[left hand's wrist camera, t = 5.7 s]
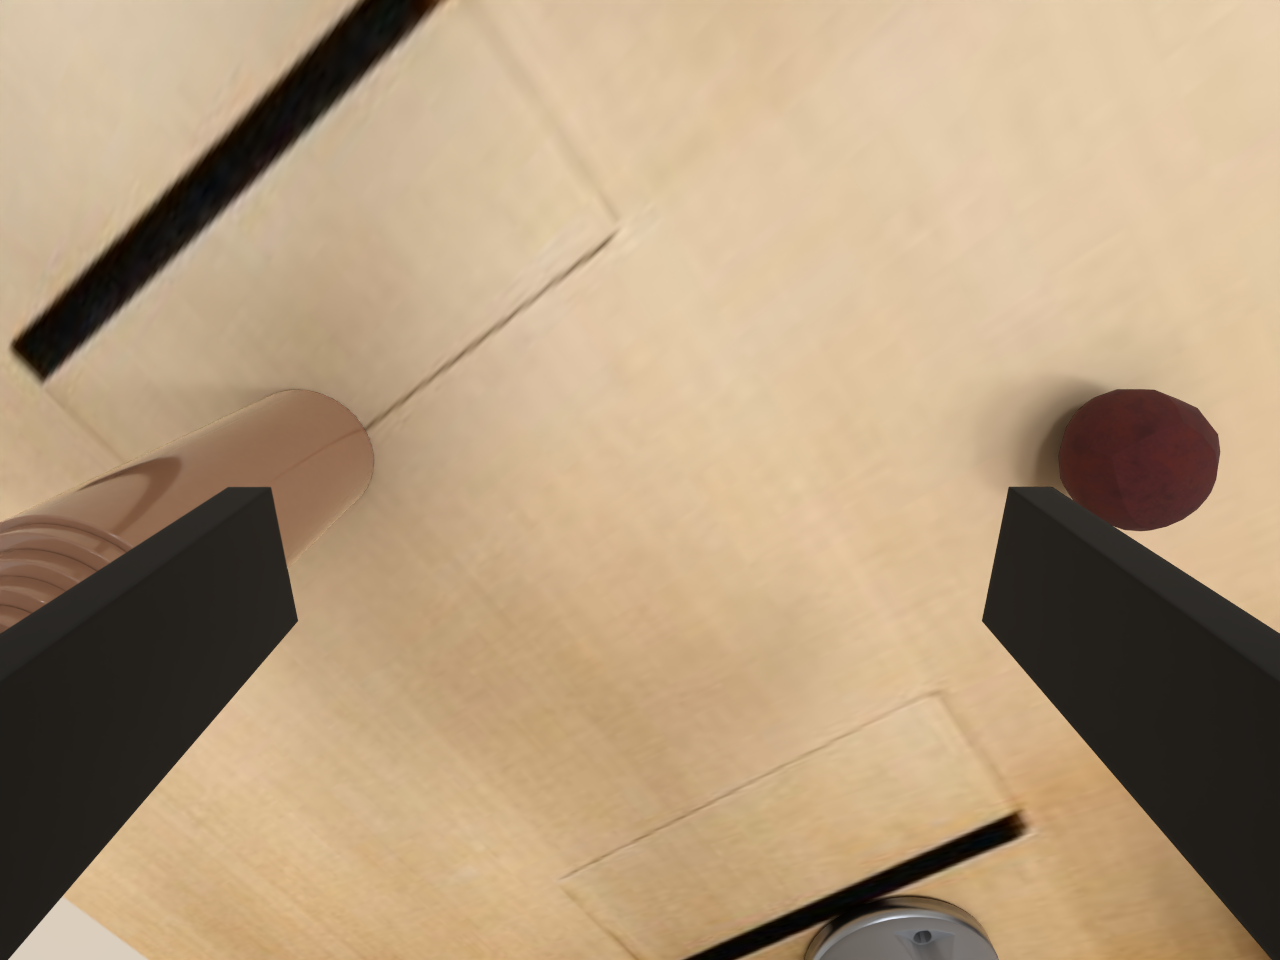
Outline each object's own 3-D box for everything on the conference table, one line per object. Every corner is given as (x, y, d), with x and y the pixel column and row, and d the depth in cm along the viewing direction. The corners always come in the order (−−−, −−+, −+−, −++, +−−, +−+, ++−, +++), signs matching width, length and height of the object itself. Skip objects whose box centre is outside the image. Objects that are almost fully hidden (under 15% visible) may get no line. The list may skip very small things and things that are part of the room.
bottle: (215, 451, 41) (-323, 742, 18) (294, 361, 39) (-195, 559, 16) (321, 537, 43) (-45, 898, 20) (400, 455, 41) (99, 751, 18)
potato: (1061, 520, 43) (1138, 575, 36) (1011, 419, 40) (1083, 457, 34) (1178, 457, 41) (1281, 502, 35) (1133, 349, 39) (1234, 375, 32)
